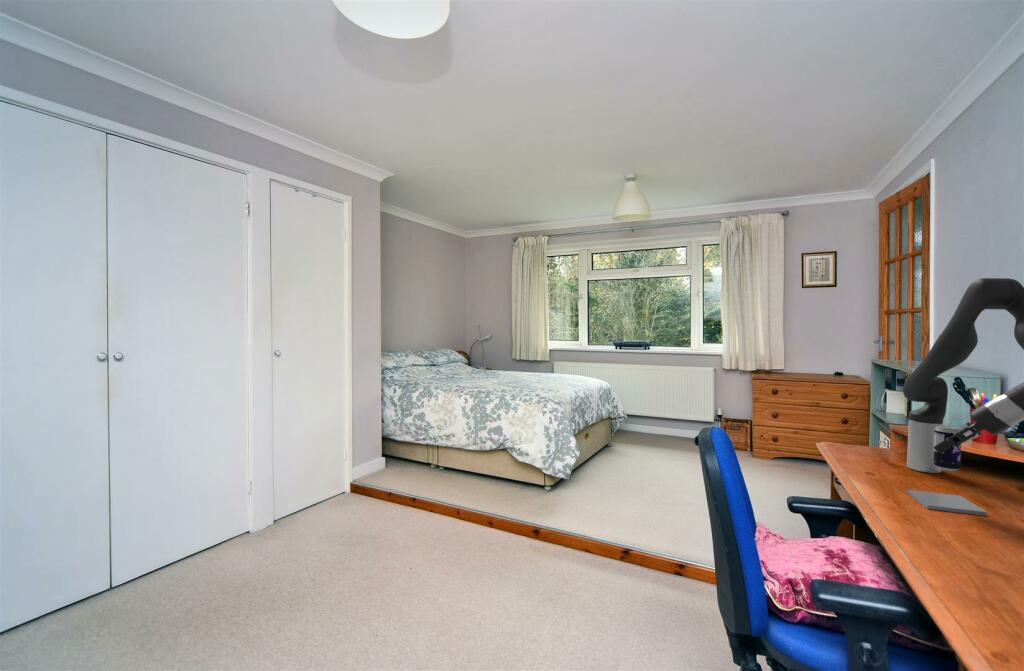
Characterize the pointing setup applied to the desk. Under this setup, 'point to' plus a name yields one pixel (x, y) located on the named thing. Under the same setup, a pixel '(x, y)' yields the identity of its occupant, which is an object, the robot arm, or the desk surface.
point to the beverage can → (952, 456)
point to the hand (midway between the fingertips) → (939, 448)
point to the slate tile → (946, 502)
